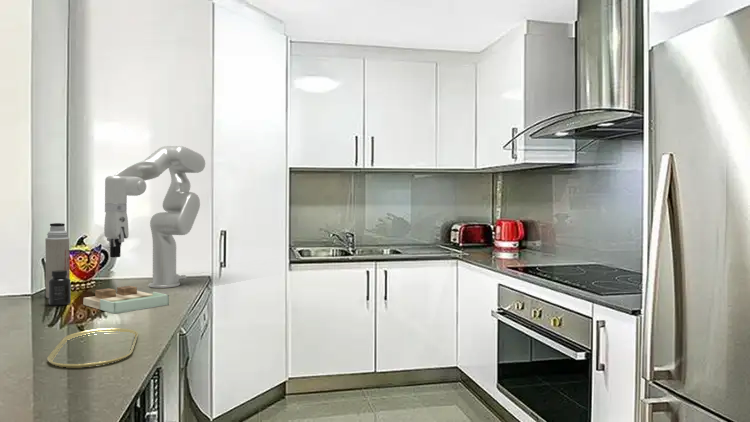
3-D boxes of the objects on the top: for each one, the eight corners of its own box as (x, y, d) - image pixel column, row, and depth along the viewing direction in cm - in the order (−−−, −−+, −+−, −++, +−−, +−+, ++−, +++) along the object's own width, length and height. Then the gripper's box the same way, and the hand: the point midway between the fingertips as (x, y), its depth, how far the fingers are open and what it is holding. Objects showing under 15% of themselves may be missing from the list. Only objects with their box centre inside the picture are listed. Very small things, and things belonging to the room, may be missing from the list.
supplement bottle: (74, 302, 204) (74, 269, 203) (62, 306, 197) (62, 272, 196) (57, 302, 204) (56, 269, 204) (44, 305, 198) (44, 271, 197)
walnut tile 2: (108, 295, 206) (108, 288, 206) (115, 296, 203) (115, 289, 203) (95, 296, 202) (95, 290, 202) (102, 298, 199) (102, 291, 199)
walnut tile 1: (129, 292, 212) (129, 285, 212) (136, 293, 209) (136, 287, 209) (116, 293, 208) (116, 287, 208) (123, 295, 205) (123, 288, 205)
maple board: (136, 297, 216) (136, 290, 216) (153, 301, 209) (153, 294, 209) (83, 304, 200) (83, 297, 200) (99, 309, 193) (99, 302, 193)
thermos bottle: (73, 294, 219) (73, 222, 218) (62, 298, 211) (61, 224, 210) (53, 294, 219) (53, 222, 218) (41, 298, 211) (40, 223, 210)
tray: (154, 301, 208) (154, 291, 208) (168, 304, 203) (168, 295, 202) (100, 309, 193) (100, 299, 193) (114, 313, 187) (114, 303, 187)
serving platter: (140, 331, 166) (140, 326, 166) (129, 367, 133) (129, 360, 132) (69, 336, 160) (69, 330, 160) (38, 374, 127) (38, 367, 126)
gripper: (135, 209, 211) (135, 258, 211) (115, 208, 220) (115, 255, 220) (116, 209, 205) (115, 259, 205) (96, 208, 214) (95, 256, 214)
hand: (115, 257), depth 213 cm, fingers closed
